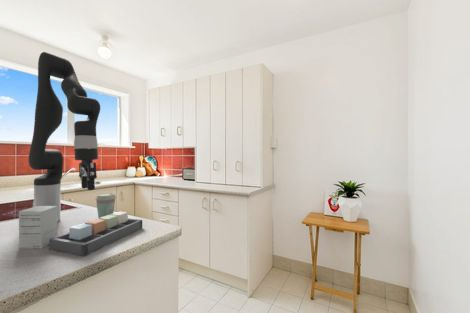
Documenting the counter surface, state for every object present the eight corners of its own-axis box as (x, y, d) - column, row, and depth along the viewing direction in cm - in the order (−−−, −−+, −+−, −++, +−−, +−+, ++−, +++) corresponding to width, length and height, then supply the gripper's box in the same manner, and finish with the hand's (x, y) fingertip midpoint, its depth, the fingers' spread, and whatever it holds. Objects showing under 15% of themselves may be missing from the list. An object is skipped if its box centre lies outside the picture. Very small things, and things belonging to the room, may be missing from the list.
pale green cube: (98, 227, 81) (98, 218, 81) (108, 223, 86) (108, 214, 86) (107, 228, 80) (107, 219, 80) (117, 224, 84) (117, 215, 84)
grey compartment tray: (49, 249, 70) (49, 238, 70) (114, 224, 95) (114, 216, 95) (84, 256, 66) (84, 244, 66) (142, 228, 91) (142, 220, 91)
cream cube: (110, 222, 87) (110, 214, 87) (119, 219, 91) (119, 211, 91) (119, 224, 85) (119, 215, 85) (127, 220, 90) (127, 212, 90)
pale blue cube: (69, 238, 71) (69, 227, 71) (82, 233, 75) (82, 223, 75) (79, 239, 70) (79, 229, 69) (91, 235, 74) (91, 224, 74)
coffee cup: (106, 222, 97) (106, 196, 97) (90, 221, 99) (90, 195, 99) (120, 217, 106) (120, 193, 105) (105, 216, 107) (105, 192, 107)
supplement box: (36, 240, 77) (36, 205, 77) (58, 239, 78) (58, 205, 78) (17, 249, 70) (17, 211, 70) (41, 248, 70) (41, 211, 70)
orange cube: (84, 232, 76) (85, 222, 76) (96, 228, 80) (96, 218, 80) (94, 233, 75) (94, 223, 75) (105, 229, 79) (105, 220, 79)
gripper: (70, 148, 85) (72, 188, 85) (79, 146, 76) (81, 192, 76) (92, 148, 91) (93, 186, 91) (103, 146, 81) (104, 189, 81)
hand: (88, 189), depth 83 cm, fingers open, 8 cm apart
